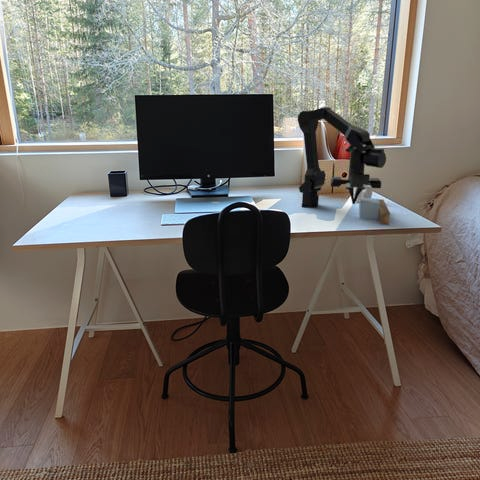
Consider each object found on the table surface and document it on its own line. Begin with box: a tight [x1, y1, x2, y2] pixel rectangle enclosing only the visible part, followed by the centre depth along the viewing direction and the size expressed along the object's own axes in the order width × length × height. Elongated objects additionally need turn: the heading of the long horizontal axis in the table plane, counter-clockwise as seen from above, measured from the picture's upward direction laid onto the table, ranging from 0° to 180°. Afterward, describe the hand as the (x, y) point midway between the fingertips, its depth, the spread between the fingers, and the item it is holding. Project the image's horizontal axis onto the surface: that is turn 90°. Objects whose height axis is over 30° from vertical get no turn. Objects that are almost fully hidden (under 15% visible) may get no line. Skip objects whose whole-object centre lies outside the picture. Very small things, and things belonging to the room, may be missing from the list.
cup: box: [354, 185, 374, 203], centre depth 187 cm, size 11×8×8 cm
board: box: [377, 198, 391, 226], centre depth 167 cm, size 3×20×4 cm, turn 169°
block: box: [358, 197, 380, 220], centre depth 168 cm, size 7×7×6 cm
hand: (353, 203), depth 169 cm, fingers closed
